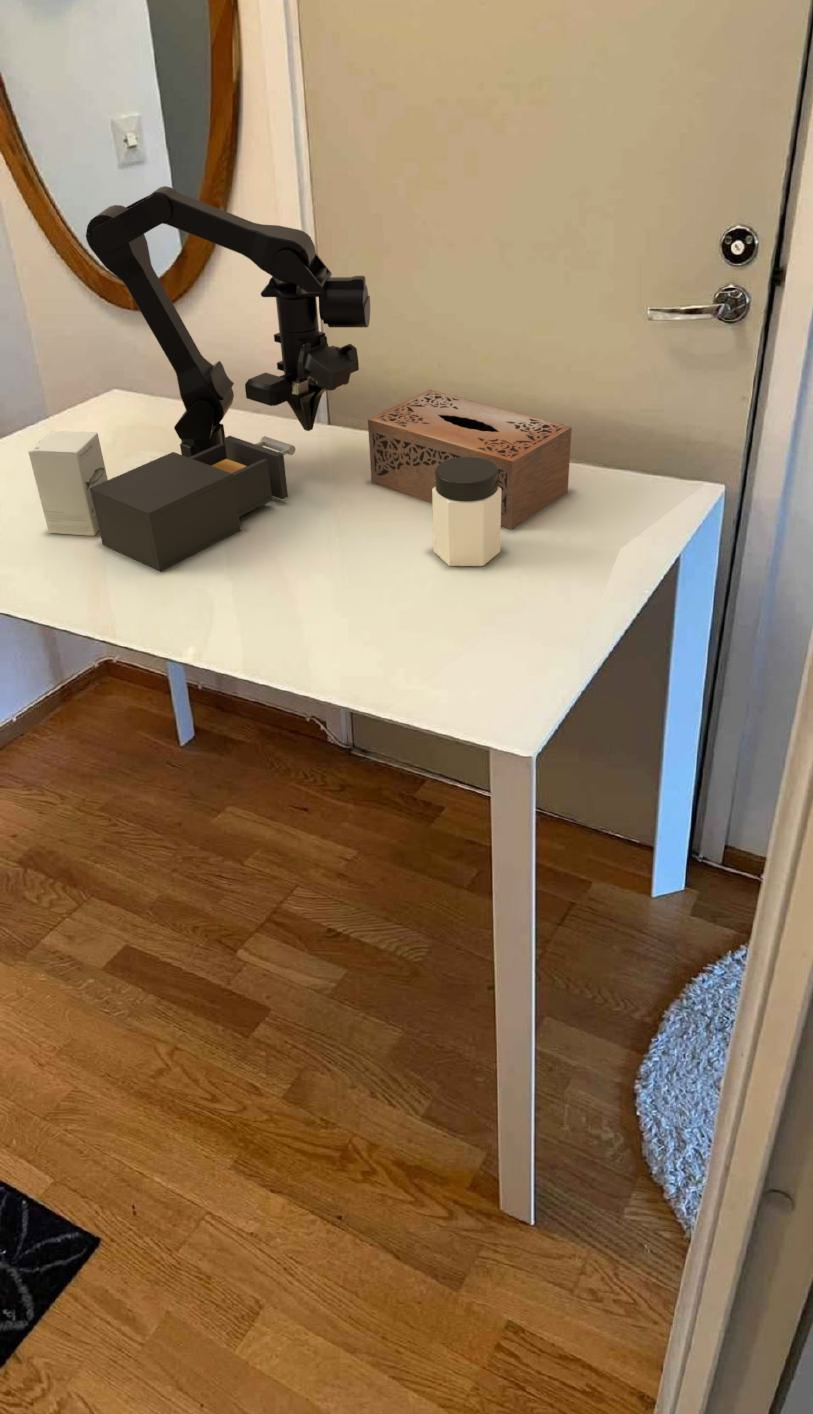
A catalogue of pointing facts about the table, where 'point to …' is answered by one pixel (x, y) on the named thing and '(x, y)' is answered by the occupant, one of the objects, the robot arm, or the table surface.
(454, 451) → the tissue box cover
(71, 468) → the white packaging box
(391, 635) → the table surface
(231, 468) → the block
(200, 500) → the brown drawer box
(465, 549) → the jar
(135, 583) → the table surface
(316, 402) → the robot arm
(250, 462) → the dark brown drawer
